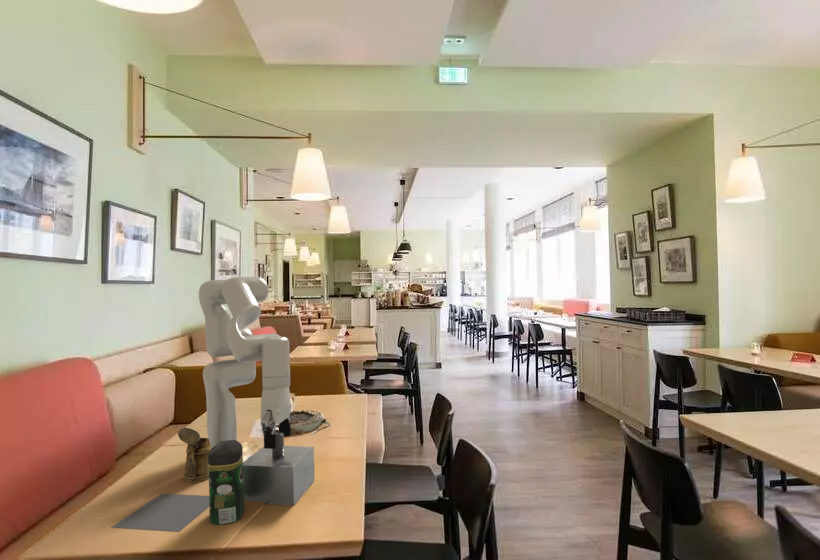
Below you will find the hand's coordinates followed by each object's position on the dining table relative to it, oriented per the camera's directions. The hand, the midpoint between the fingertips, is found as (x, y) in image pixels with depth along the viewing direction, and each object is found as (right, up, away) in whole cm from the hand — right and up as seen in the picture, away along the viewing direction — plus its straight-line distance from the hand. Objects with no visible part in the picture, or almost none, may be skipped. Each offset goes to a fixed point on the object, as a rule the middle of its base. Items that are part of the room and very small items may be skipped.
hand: (277, 442), depth 133 cm
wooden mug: (-27, -15, +8) cm, 32 cm away
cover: (0, -14, 0) cm, 14 cm away
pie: (-10, -15, +60) cm, 62 cm away
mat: (-25, -15, -11) cm, 31 cm away
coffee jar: (-9, -14, -14) cm, 22 cm away
